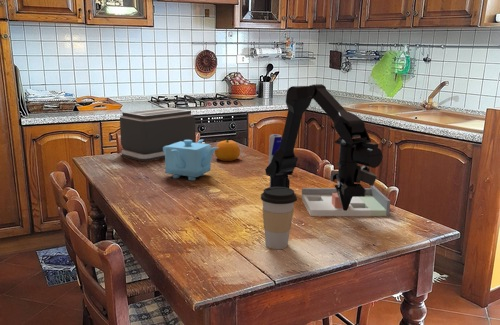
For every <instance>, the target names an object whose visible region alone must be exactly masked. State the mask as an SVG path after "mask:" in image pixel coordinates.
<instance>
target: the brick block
mask: <svg viewBox="0 0 500 325" xmlns="http://www.w3.org/2000/svg"><path fill="white" fill-rule="evenodd" d="M332 205H333V206H334V208H342V205H341V202H340V199H339V197H338V194H337V193H332ZM348 208H349V207H348Z"/></svg>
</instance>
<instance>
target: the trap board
mask: <svg viewBox="0 0 500 325" xmlns="http://www.w3.org/2000/svg"><path fill="white" fill-rule="evenodd" d="M364 189H365V190H366V194H365V196H364V197H352V199H351V202H350V204H349V208H348V209H347V211H344V210H343V208H334V206H333V205H332V193H337V191H336V188H335V187H302V188H301V201H302V203H303V205H304V207H305V209H306V210H307V212H308V213H309V216H310V217H390V212H391V200H390V199H389V198H388V197H387V196H386V195H385V194H383V193H382V191H380V190H379V188H377V187H376V186H375V185H373V186H371V185H370V188H368V187H367V188H364Z"/></svg>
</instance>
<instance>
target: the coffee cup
mask: <svg viewBox="0 0 500 325" xmlns="http://www.w3.org/2000/svg"><path fill="white" fill-rule="evenodd" d="M260 199H261V201H262V218H263V220H262V221H263V228H264V238H265V246H266V248H269V249H272V250H284V249H286V248H287V247H288V245H289V239H290V232H291V229H292V222H293V215H294V205H295V204H294V203H295V202H297V201H298V198H297V194H296V193H295V190H294V189H292V188H290V187H289V188H286V187H270V186H269V187H267V188H264V190H263V192H261V194H260Z"/></svg>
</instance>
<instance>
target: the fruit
mask: <svg viewBox="0 0 500 325" xmlns="http://www.w3.org/2000/svg"><path fill="white" fill-rule="evenodd" d="M215 147H218V149H216V150H215V151H214V155H215V157H216V159H218V160H220V161H224V162H231V161H235V160H237V159H238V158H240V154H241V149H240V147H239V145H238V143H237V142H235V141H233V140H229V139H228V138H226V140H221V141H219V142H218V143H217V144H216V146H215Z"/></svg>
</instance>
